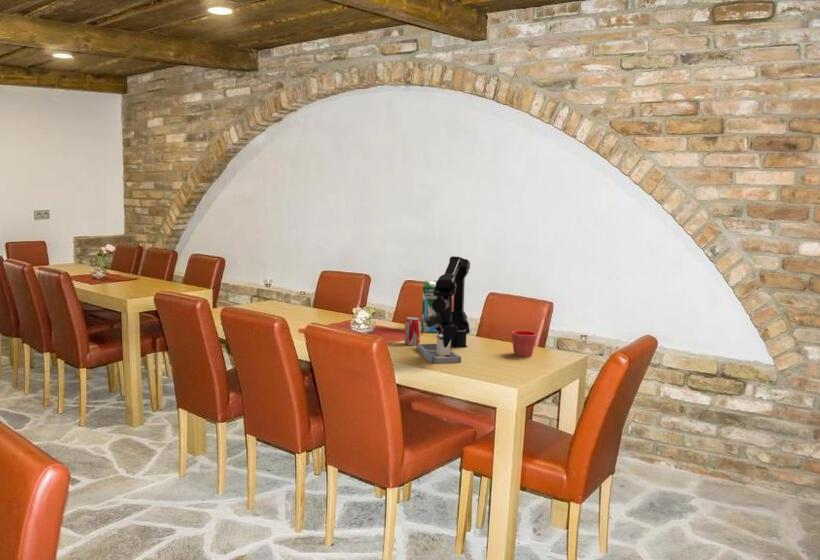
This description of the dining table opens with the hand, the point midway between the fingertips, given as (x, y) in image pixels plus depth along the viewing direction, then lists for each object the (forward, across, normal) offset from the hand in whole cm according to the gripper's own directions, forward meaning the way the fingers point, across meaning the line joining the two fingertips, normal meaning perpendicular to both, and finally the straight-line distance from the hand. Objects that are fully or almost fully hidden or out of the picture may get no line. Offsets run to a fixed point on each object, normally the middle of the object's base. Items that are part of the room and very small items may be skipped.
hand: (443, 345), depth 289 cm
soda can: (+6, -29, -6) cm, 30 cm away
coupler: (+4, 0, 0) cm, 4 cm away
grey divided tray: (+6, -6, 0) cm, 8 cm away
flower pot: (+6, -3, +37) cm, 38 cm away
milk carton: (+6, -57, +11) cm, 59 cm away
